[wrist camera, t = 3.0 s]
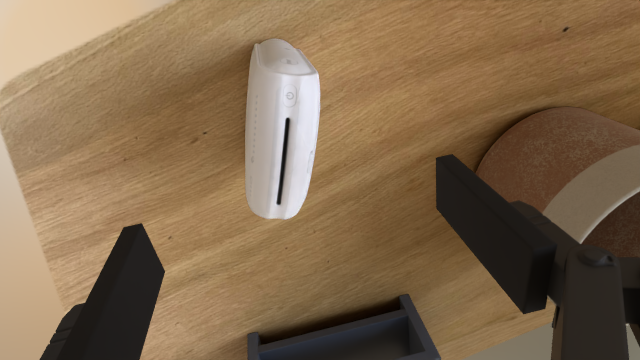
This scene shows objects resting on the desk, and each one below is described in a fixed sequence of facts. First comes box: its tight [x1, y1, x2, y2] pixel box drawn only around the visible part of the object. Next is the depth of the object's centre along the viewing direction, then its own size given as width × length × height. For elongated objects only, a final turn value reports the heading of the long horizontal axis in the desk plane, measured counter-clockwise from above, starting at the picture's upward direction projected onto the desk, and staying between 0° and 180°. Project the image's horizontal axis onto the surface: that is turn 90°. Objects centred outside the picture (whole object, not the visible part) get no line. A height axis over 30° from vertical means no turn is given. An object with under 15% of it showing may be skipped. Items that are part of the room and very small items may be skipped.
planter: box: [475, 107, 640, 326], centre depth 35 cm, size 16×16×14 cm
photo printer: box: [245, 39, 320, 220], centre depth 27 cm, size 10×4×12 cm, turn 172°
